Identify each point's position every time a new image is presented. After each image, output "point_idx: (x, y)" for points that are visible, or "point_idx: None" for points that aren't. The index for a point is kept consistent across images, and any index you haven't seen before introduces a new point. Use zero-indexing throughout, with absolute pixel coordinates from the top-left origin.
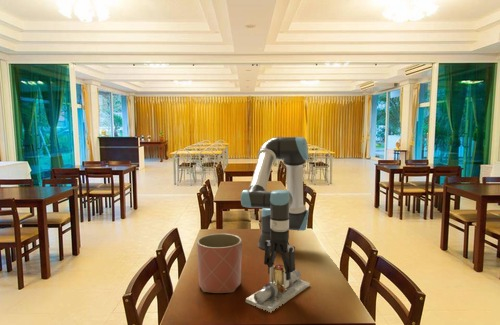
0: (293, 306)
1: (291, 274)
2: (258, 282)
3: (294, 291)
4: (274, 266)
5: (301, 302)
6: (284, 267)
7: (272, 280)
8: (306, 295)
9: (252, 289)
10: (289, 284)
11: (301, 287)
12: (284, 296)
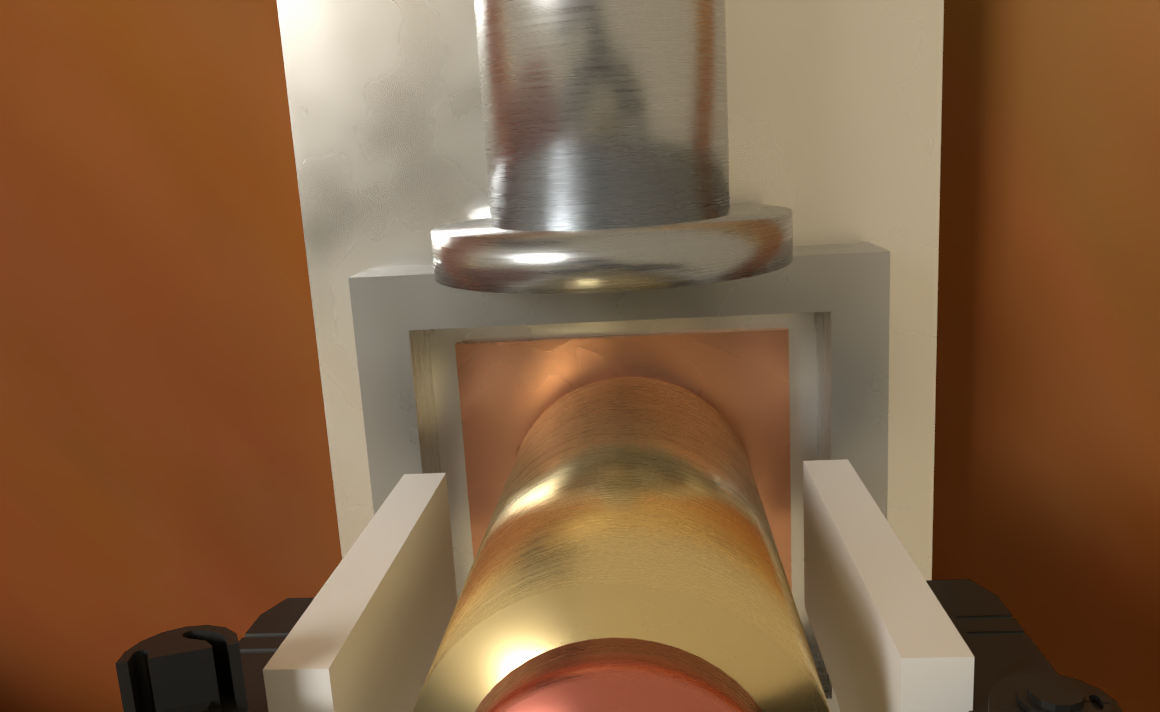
0: (1092, 654)
1: (632, 30)
2: (38, 368)
3: (906, 328)
4: (333, 694)
5: (1142, 456)
6: (708, 602)
7: (443, 584)
8: (1091, 161)
9: None
10: (739, 281)
11: (932, 65)
12: None
